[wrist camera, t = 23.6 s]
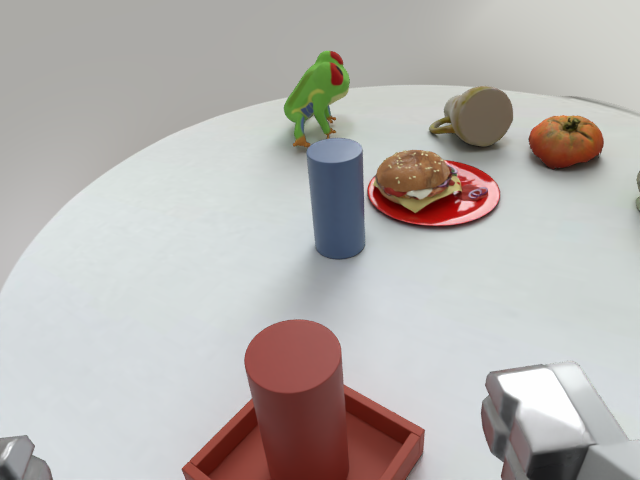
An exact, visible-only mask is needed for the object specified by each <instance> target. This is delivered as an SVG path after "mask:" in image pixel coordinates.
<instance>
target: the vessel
mask: <svg viewBox="0 0 640 480" xmlns="http://www.w3.org/2000/svg"><path fill="white" fill-rule="evenodd" d="M637 184H638V189H639V192H640V171H639V173H638V175H637ZM636 204H637V209H638V210H639V211H640V196H639V197H638V198H637V200H636Z"/></svg>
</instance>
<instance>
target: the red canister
mask: <svg viewBox="0 0 640 480" xmlns="http://www.w3.org/2000/svg"><path fill="white" fill-rule="evenodd" d="M244 363H245V369H246V373H247V377H248V382H249V386H250V390H251V395H252V399H253V403H254V408H255V412H256V416H257V421H258V425H259V429H260V434H261V438H262V442H263V447H264V451H265V455H266V460H267V464H268V468H269V473H270V477H271V480H347V477H348V473H349V455H348V441H347V427H346V412H345V398H344V384H343V369H342V355H341V347H340V343H339V341H338V339H337V337H336V336H335V335H334V334H333V332H332V331H330V330H329V329H328V328H326V327H325V326H323V325H321V324H319V323H316V322H313V321H309V320H297V319H296V320H287V321H282V322H279V323H276V324H273V325H271V326H269V327H267V328H265V329H264V330H262V331H261V332H260V333H258V334H257V335H256V336H255V337H254V338H253V340H252V341H251V342H250V344H249V346H248V348H247V350H246V353H245V359H244Z"/></svg>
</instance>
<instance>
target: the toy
mask: <svg viewBox="0 0 640 480" xmlns="http://www.w3.org/2000/svg"><path fill="white" fill-rule="evenodd" d="M349 83H350V79H349V75H348V73H347V71H346V70H345V69H344V67H343V60H342V58H341V57H340V55H339V54H337V53H336V52H333V51H324V52H322V53H321V54H320V55H319V56H318V58H317V61H316V63H315V64H314V65H313V66H311V67H310V68H309V69H308V70H307V71H306V72H305V74H304V75H303V77H302V78H301V80H300V81H299V83H298V84H297V86H296V87H295V89H294V91H293V92H292V93H291V95H290V96H289V97H288V99H287V101H286V103H285V105H284V112H285V115H286V116H287V118H288V119H289V120H291V121H292V122H295V123H296V125H295V131H294V136H295V138H296V141H295V143H293V146H294V147H295V146H297V145H299V146H304V147H309V146H310V143H308V142H306V139H305V134H304V122H305V120H307V119H309V118H310V117H311V116H312V115H315V118H316V120H317V121H318V123H319V124H320V126H321V128H322V130H323V132H324V134H326V135H327V139H329V134H331V133H336V131H335V130H333V129H332V128H330V127H329V124H328V121H330V123H333V121H332V120H331V119H333V120H336V117H332V116H331V113H330V108H329V105H330V104H332V103H333V102H335V101H337V100H339V99H341V98H343V97H344V96H346V94H347V93H348V89H349ZM327 120H328V121H327ZM332 130H333V131H332Z"/></svg>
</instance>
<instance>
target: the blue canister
mask: <svg viewBox="0 0 640 480" xmlns="http://www.w3.org/2000/svg"><path fill="white" fill-rule="evenodd" d="M307 163H308V173H309V184H310V194H311V205H312V215H313V226H314V236H315V247H316V249H317V251H318V252H319V253H320V254H321V255H323V256H325V257H328V258H333V259H345V258H349V257H352V256H355V255H357V254H358V253H360V252H361V251H362V250H363V248H364V246H365V224H364V187H363V149H362V146H361V145H360V144H359V143H358V142H356V141H354V140H351V139H345V138H330V139H324V140H321V141H318V142H315V143H314V144H312V145H311V146H309V148H308V149H307Z"/></svg>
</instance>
